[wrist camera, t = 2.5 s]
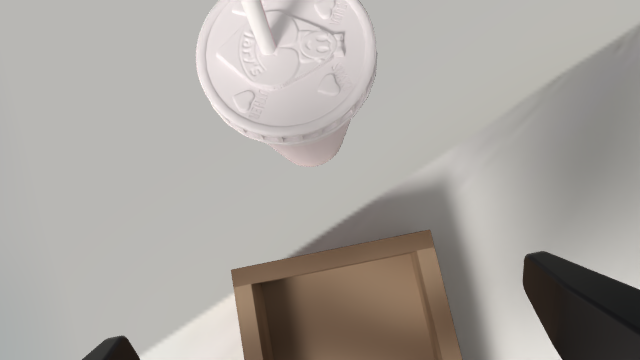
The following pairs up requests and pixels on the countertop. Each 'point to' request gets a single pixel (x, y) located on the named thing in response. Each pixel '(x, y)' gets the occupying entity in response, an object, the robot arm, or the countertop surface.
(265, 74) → the smoothie
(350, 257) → the socket block
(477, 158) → the countertop surface
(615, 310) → the robot arm
